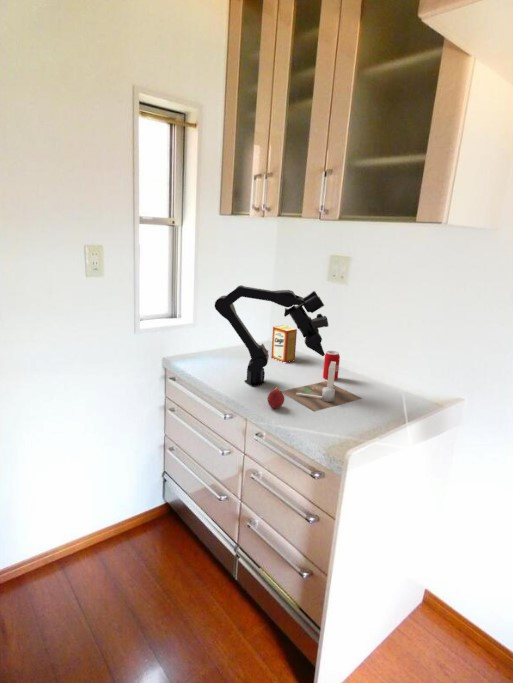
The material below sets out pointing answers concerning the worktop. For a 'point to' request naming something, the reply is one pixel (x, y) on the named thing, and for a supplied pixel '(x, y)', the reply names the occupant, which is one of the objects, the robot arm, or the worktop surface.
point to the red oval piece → (275, 398)
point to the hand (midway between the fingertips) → (322, 352)
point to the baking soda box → (284, 343)
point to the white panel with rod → (329, 390)
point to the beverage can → (328, 358)
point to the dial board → (317, 389)
